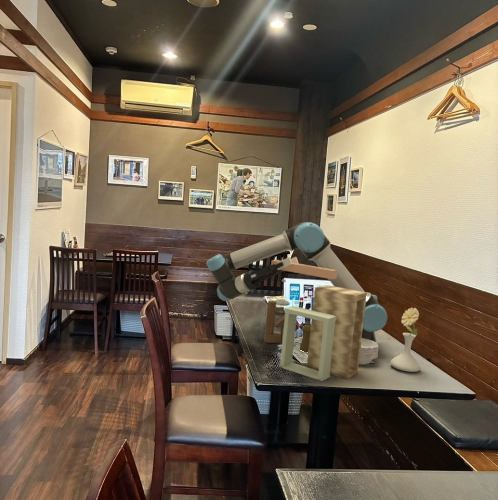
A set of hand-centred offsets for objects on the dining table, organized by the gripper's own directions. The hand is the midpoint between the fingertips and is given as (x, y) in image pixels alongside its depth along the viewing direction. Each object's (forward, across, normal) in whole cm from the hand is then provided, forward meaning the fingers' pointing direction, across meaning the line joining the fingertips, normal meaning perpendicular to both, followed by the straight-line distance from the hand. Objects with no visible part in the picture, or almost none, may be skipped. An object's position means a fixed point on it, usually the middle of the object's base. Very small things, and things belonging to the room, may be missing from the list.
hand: (293, 260), depth 171 cm
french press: (-38, -31, -22) cm, 54 cm away
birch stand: (-3, -4, -43) cm, 43 cm away
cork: (-18, -16, -34) cm, 42 cm away
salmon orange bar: (+2, 0, -6) cm, 6 cm away
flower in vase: (+14, -28, -53) cm, 61 cm away
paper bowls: (-1, -22, -44) cm, 49 cm away
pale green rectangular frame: (-8, +6, -40) cm, 41 cm away
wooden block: (-31, -15, -27) cm, 44 cm away
